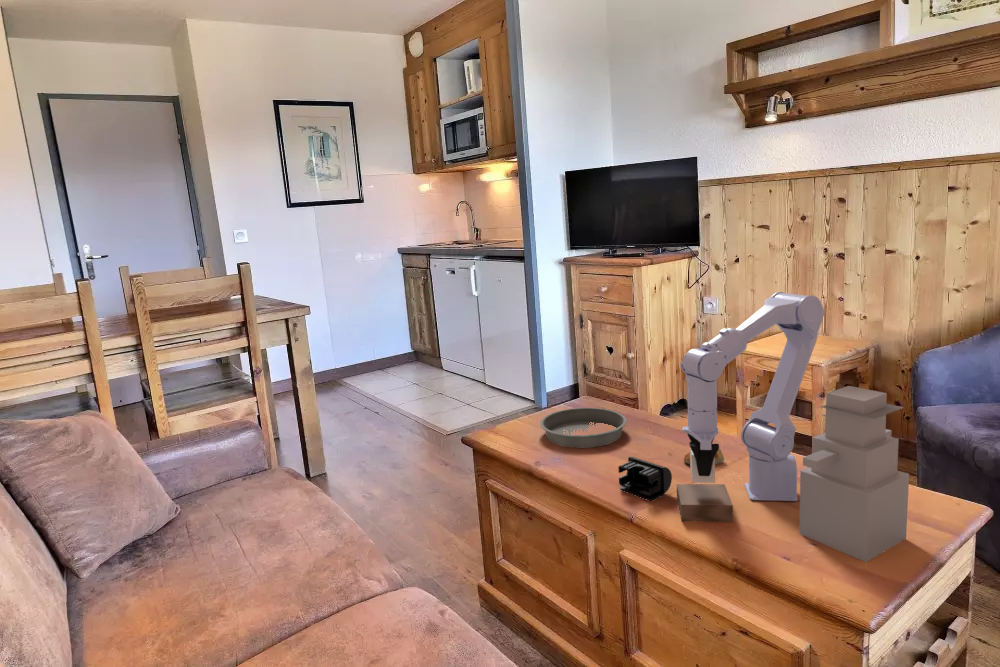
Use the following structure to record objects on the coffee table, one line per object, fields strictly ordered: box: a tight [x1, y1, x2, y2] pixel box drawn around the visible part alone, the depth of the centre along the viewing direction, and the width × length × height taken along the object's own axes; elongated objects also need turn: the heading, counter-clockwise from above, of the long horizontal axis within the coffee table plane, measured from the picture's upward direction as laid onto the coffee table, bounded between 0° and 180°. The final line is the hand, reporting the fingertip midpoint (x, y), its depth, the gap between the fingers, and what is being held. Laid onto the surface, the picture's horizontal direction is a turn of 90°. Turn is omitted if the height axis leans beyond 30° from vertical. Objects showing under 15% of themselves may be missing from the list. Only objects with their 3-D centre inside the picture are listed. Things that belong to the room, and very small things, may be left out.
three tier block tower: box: [798, 385, 910, 563], centre depth 120 cm, size 13×24×28 cm, turn 121°
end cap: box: [618, 456, 673, 502], centre depth 147 cm, size 10×7×7 cm
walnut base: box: [676, 483, 734, 523], centre depth 136 cm, size 10×10×4 cm
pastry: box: [683, 447, 725, 465], centre depth 161 cm, size 9×7×4 cm
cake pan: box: [539, 407, 628, 449], centre depth 186 cm, size 25×25×4 cm
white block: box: [689, 447, 716, 484], centre depth 135 cm, size 4×4×6 cm
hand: (703, 470), depth 135 cm, fingers closed on white block, 4 cm apart
